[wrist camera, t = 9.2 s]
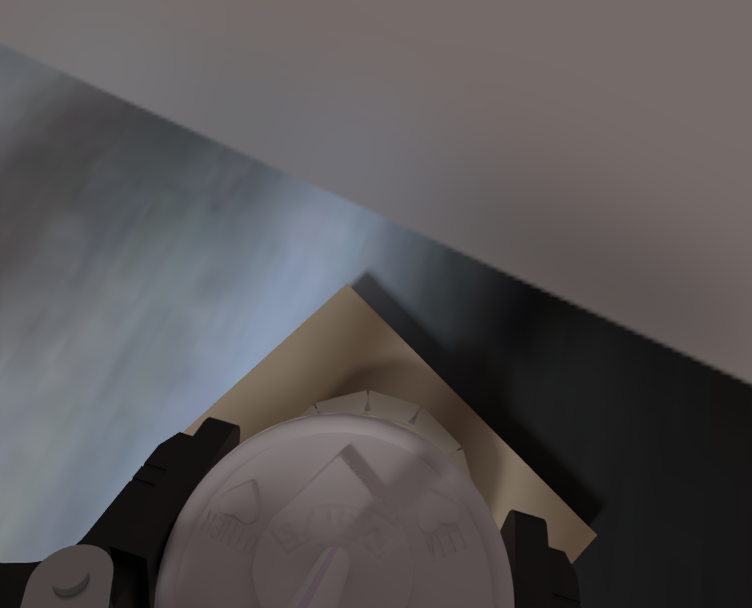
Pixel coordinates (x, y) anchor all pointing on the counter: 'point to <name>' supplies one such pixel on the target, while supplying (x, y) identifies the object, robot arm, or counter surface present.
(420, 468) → the smoothie
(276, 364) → the socket board
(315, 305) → the counter surface
